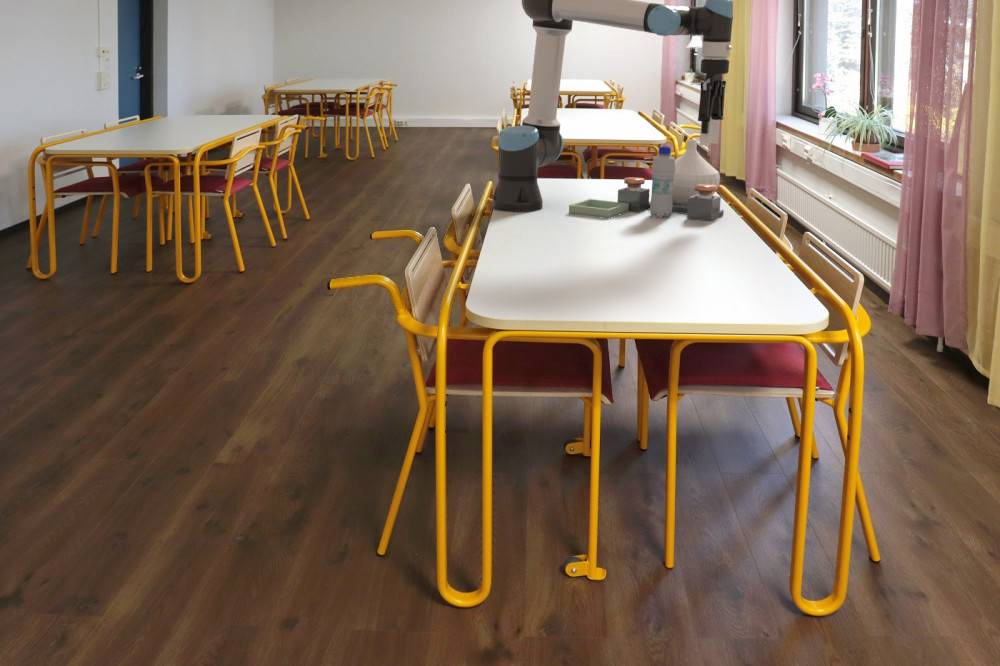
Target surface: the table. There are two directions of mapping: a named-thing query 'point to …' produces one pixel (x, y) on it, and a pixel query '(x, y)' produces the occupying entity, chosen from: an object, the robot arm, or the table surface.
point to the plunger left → (634, 183)
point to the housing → (694, 210)
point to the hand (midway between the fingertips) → (708, 144)
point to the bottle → (662, 183)
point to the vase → (691, 174)
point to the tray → (598, 208)
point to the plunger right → (705, 190)
